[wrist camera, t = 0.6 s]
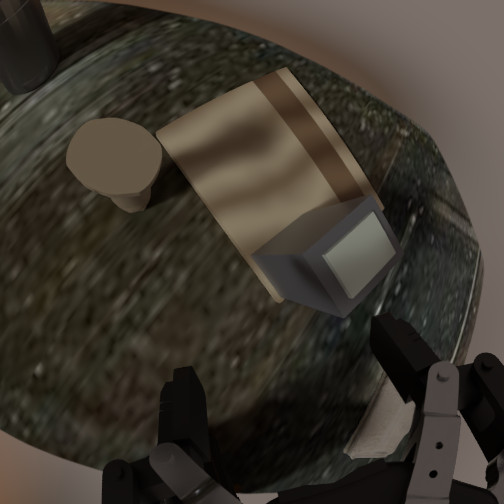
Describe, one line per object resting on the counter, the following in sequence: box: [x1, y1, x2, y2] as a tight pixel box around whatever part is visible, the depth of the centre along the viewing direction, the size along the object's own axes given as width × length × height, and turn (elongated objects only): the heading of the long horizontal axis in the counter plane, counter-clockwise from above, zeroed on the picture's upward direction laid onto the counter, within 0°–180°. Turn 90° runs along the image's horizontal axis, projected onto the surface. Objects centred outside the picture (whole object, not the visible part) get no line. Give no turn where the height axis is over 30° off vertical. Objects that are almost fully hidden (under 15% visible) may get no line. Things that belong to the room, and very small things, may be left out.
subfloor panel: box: [156, 67, 384, 303], centre depth 35 cm, size 24×20×1 cm
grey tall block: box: [250, 194, 404, 318], centre depth 28 cm, size 6×8×14 cm
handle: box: [66, 118, 162, 213], centre depth 23 cm, size 5×6×15 cm
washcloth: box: [343, 371, 415, 459], centre depth 39 cm, size 12×18×3 cm, turn 158°
